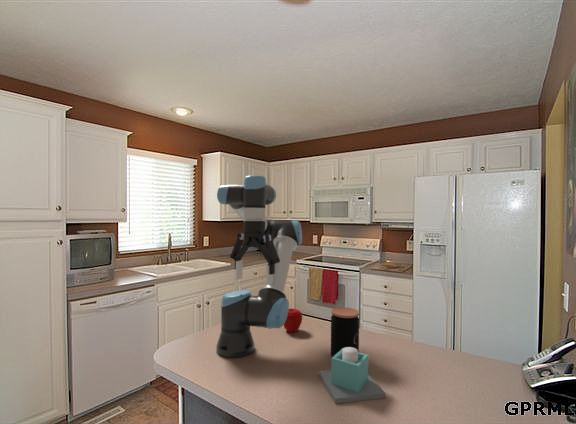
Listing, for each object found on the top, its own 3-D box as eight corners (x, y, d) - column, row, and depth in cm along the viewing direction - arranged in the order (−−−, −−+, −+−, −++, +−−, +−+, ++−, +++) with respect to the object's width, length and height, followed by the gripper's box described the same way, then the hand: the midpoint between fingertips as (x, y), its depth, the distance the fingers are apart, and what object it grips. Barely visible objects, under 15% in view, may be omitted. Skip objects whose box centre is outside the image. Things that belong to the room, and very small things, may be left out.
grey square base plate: (318, 375, 106) (318, 342, 106) (361, 371, 109) (362, 338, 110) (335, 403, 91) (335, 364, 91) (385, 397, 94) (385, 359, 94)
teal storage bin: (331, 383, 99) (331, 358, 99) (342, 371, 106) (342, 348, 106) (358, 392, 94) (358, 366, 94) (368, 379, 101) (368, 354, 101)
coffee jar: (359, 365, 114) (359, 316, 114) (329, 362, 116) (330, 314, 116) (358, 353, 124) (358, 308, 124) (331, 350, 126) (332, 306, 126)
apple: (306, 330, 148) (306, 307, 148) (293, 336, 140) (293, 312, 140) (290, 325, 154) (290, 303, 154) (277, 330, 147) (277, 307, 147)
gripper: (290, 220, 104) (289, 284, 104) (235, 219, 118) (234, 275, 118) (277, 221, 98) (276, 288, 98) (220, 219, 112) (220, 278, 111)
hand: (253, 281), depth 108 cm, fingers open, 13 cm apart
